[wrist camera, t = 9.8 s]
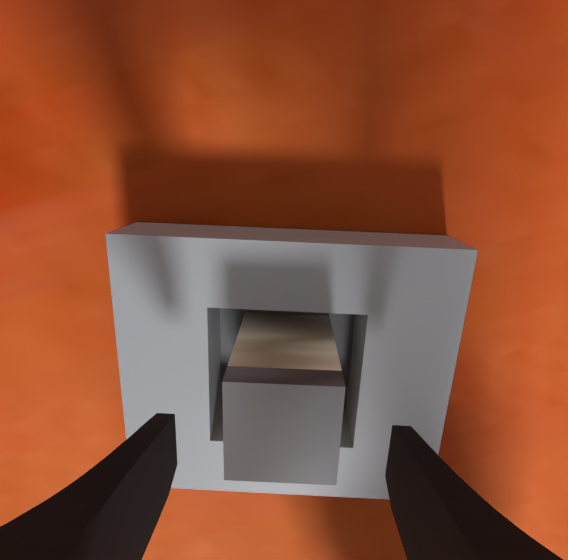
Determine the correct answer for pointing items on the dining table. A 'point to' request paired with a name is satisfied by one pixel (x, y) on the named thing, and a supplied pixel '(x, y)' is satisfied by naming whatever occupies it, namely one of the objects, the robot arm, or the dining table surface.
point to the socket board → (288, 300)
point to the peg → (283, 401)
